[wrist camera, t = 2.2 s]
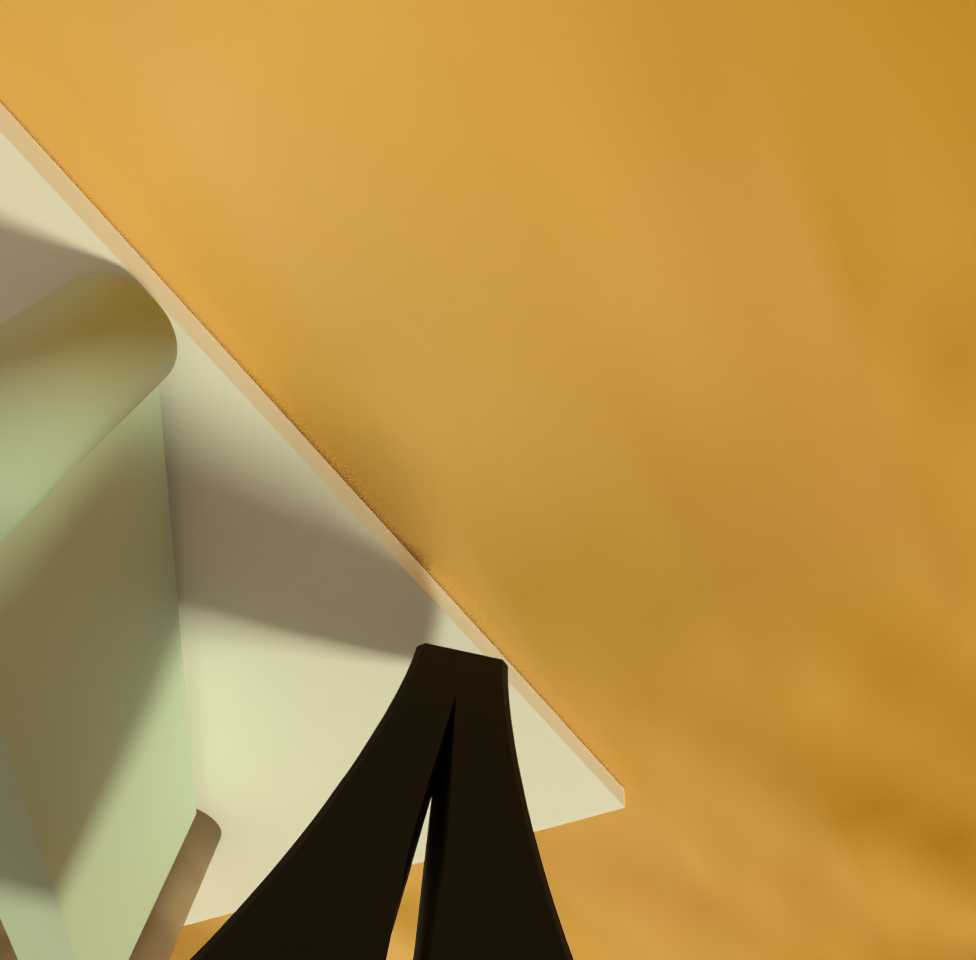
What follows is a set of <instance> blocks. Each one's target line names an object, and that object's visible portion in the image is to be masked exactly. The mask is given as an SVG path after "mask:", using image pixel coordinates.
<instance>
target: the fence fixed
mask: <svg viewBox="0 0 976 960" xmlns="http://www.w3.org/2000/svg"><path fill="white" fill-rule="evenodd" d="M221 834H222V833H221V829H220V827H219V825H218V824H217V823H216V821H215V820H214V819H213V818H211V817H210V816H209V815H207V814H206V813H204V812H202V811H200V810H198V809H196V816H195V818H194V820H193V822H192V824H191V826H190V828H189V831H188V833H187V835H186V837H185V839H184V841H183V844H182V846H181V848H180V850H179V852H178V854H177V856H176V859H175V861H174V863H173V865H172V867H171V869H170V872H169V874H168V876H167V878H166V880H165V882H164V884H163V887H162V889H161V891H160V893H159V895H158V897H157V900H156V902H155V904H154V906H153V908H152V910H151V912H150V915H149V917H148V919H147V921H146V923H145V925H144V928H143V930H142V932H141V934H140V936H139V938H138V940H137V943H136V945H135V947H134V949H133V951H132V953H131V956H130V958H129V960H169V959H170V956H171V954H172V952H173V949H174V947H175V944H176V942H177V940H178V937H179V935H180V933H181V930H182V928H183V926H184V923H185V921H186V919H187V916H188V914H189V911H190V909H191V907H192V904H193V902H194V900H195V897H196V895H197V893H198V890H199V888H200V885H201V883H202V881H203V878H204V876H205V874H206V871H207V869H208V867H209V864H210V862H211V860H212V857H213V855H214V852H215V850H216V848H217V845H218V843H219V841H220V838H221ZM0 960H18V958H17V956H16V954H15V952H14V949H13V947H12V945H11V942H10V940H9V938H8V935H7V933H6V931H5V928H4V926H3V924H2V921H1V919H0Z"/></svg>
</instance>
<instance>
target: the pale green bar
mask: <svg viewBox="0 0 976 960" xmlns="http://www.w3.org/2000/svg"><path fill="white" fill-rule="evenodd" d="M176 358H177V340H176V336H175V332H174V329H173V327H172V324H171V322H170V320H169V318H168V317H167V315H166V314H165V312H164V311H163V309H162V308H161V307H160V305H159V304H158V303H157V302H156V301H155V300H154V299H153V298H152V297H151V296H150V295H149V294H148V293H146V292H145V291H144V290H143V289H141V288H140V287H138V286H137V285H135V284H133V283H132V282H130V281H128V280H126V279H123V278H121V277H118V276H114V275H111V274H105V273H88V274H84V275H80V276H78V277H76V278H74V279H72V280H70V281H69V282H67V283H66V284H64V285H62V286H61V287H59V288H58V289H56V290H54V291H53V292H51V293H50V294H48V295H46V296H45V297H43V298H42V299H40V300H38V301H37V302H35V303H34V304H32V305H30V306H29V307H27V308H25V309H24V310H22V311H21V312H19V313H17V314H16V315H14V316H13V317H11V318H9V319H8V320H6V321H5V322H3V323H1V324H0V919H1V921H2V924H3V926H4V928H5V931H6V933H7V935H8V938H9V940H10V942H11V945H12V947H13V949H14V952H15V954H16V956H17V958H18V960H129V958H130V956H131V953H132V951H133V949H134V947H135V945H136V943H137V940H138V938H139V936H140V934H141V932H142V930H143V928H144V925H145V923H146V921H147V919H148V917H149V915H150V912H151V910H152V908H153V906H154V904H155V902H156V900H157V897H158V895H159V893H160V891H161V889H162V887H163V884H164V882H165V880H166V878H167V876H168V874H169V872H170V869H171V867H172V865H173V863H174V861H175V859H176V856H177V854H178V852H179V850H180V848H181V846H182V844H183V841H184V839H185V837H186V835H187V833H188V831H189V828H190V826H191V824H192V822H193V820H194V818H195V816H196V803H195V792H194V780H193V769H192V758H191V746H190V735H189V724H188V712H187V701H186V690H185V678H184V667H183V656H182V644H181V633H180V622H179V610H178V599H177V588H176V576H175V565H174V554H173V542H172V531H171V520H170V508H169V497H168V486H167V474H166V463H165V452H164V440H163V429H162V418H161V406H160V395H159V384H160V383H161V382H162V381H163V380H164V379H165V378H166V377H167V376H168V375H169V373H170V372H171V371H172V369H173V367H174V365H175V362H176Z"/></svg>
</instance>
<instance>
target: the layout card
mask: <svg viewBox="0 0 976 960" xmlns="http://www.w3.org/2000/svg"><path fill="white" fill-rule="evenodd" d="M88 273H105V274H111V275H114V276H118V277H121V278H123V279H126V280H128V281H130V282H132V283H133V284H135V285H137V286H138V287H140V288H141V289H143V290H144V291H145V292H146V293H148V294H149V295H150V296H151V297H152V298H153V299H154V300H155V301H156V302H157V303H158V304H159V305H160V307H161V308H162V309H163V311H164V312H165V314H166V315H167V317H168V318H169V320H170V322H171V324H172V327H173V329H174V332H175V336H176V340H177V358H176V362H175V365H174V367H173V369H172V371H171V372H170V373H169V375H168V376H167V377H166V378H165V379H164V380H163V381H162V382H161V383H160V384H159V395H160V406H161V418H162V429H163V440H164V452H165V463H166V474H167V486H168V497H169V508H170V520H171V531H172V542H173V554H174V565H175V576H176V588H177V599H178V610H179V622H180V633H181V644H182V656H183V667H184V678H185V690H186V701H187V712H188V724H189V735H190V746H191V758H192V769H193V780H194V792H195V803H196V809H198V810H200V811H202V812H204V813H206V814H207V815H209V816H210V817H211V818H213V819H214V820H215V821H216V823H217V824H218V825H219V827H220V829H221V833H222V834H221V838H220V841H219V843H218V845H217V848H216V850H215V852H214V855H213V857H212V860H211V862H210V864H209V867H208V869H207V871H206V874H205V876H204V878H203V881H202V883H201V885H200V888H199V890H198V893H197V895H196V897H195V900H194V902H193V904H192V907H191V909H190V911H189V914H188V916H187V919H186V921H185V923H184V926H185V925H189V924H193V923H196V922H200V921H204V920H207V919H211V918H215V917H219V916H222V915H226V914H230V913H234V912H236V910H237V909H238V908H239V907H240V906H241V905H242V904H243V903H244V901H245V900H246V899H247V898H248V897H249V896H250V895H251V893H252V892H253V891H254V890H255V889H256V888H257V887H258V886H259V884H260V883H261V882H262V881H263V880H264V879H265V878H266V877H267V875H268V874H269V873H270V872H271V871H272V869H273V868H274V867H275V866H276V865H277V863H278V862H279V861H280V860H281V859H282V857H283V856H284V855H285V854H286V853H287V851H288V850H289V849H290V848H291V847H292V845H293V844H294V843H295V842H296V840H297V839H298V838H299V837H300V835H301V834H302V833H303V832H304V830H305V829H306V828H307V826H308V825H309V824H310V822H311V821H312V820H313V819H314V817H315V816H316V815H317V813H318V812H319V811H320V809H321V808H322V807H323V805H324V804H325V802H326V801H327V800H328V798H329V797H330V796H331V794H332V793H333V791H334V790H335V789H336V787H337V786H338V784H339V783H340V782H341V780H342V779H343V777H344V776H345V775H346V773H347V772H348V770H349V769H350V768H351V766H352V765H353V763H354V762H355V760H356V759H357V757H358V756H359V754H360V753H361V751H362V749H363V748H364V746H365V745H366V743H367V742H368V740H369V738H370V737H371V735H372V734H373V732H374V730H375V729H376V727H377V726H378V724H379V722H380V721H381V719H382V718H383V716H384V714H385V712H386V711H387V709H388V707H389V705H390V704H391V702H392V700H393V698H394V696H395V695H396V693H397V691H398V689H399V687H400V685H401V683H402V681H403V679H404V677H405V675H406V673H407V670H408V668H409V666H410V664H411V661H412V659H413V656H414V653H415V650H416V647H417V646H419V645H421V644H424V643H428V644H433V645H437V646H442V647H447V648H451V649H456V650H461V651H465V652H470V653H475V654H479V655H484V656H489V657H493V658H498V659H503V660H504V662H505V663H506V664H507V665H508V688H509V702H510V712H511V720H512V727H513V734H514V741H515V747H516V753H517V759H518V764H519V769H520V774H521V779H522V783H523V788H524V793H525V798H526V803H527V807H528V811H529V815H530V819H531V824H532V828H533V832H536V831H540V830H543V829H547V828H551V827H555V826H558V825H562V824H566V823H569V822H573V821H577V820H581V819H584V818H588V817H592V816H596V815H599V814H603V813H607V812H611V811H614V810H618V809H622V808H625V789H624V788H623V787H622V786H621V785H620V784H619V783H618V782H617V781H616V780H615V778H614V777H613V776H612V775H611V774H610V773H609V772H608V771H607V770H606V768H605V767H604V766H603V765H602V764H601V763H600V762H599V761H598V760H597V759H596V757H595V756H594V755H593V754H592V753H591V752H590V751H589V750H588V749H587V748H586V746H585V745H584V744H583V743H582V742H581V741H580V740H579V739H578V738H577V737H576V735H575V734H574V733H573V732H572V731H571V730H570V729H569V728H568V727H567V726H566V724H565V723H564V722H563V721H562V720H561V719H560V718H559V717H558V716H557V715H556V713H555V712H554V711H553V710H552V709H551V708H550V707H549V706H548V705H547V704H546V702H545V701H544V700H543V699H542V698H541V697H540V696H539V695H538V694H537V693H536V691H535V690H534V689H533V688H532V687H531V686H530V685H529V684H528V683H527V681H526V680H525V679H524V678H523V677H522V676H521V675H520V674H519V673H518V672H517V670H516V669H515V668H514V667H513V666H512V665H511V664H510V663H509V662H508V661H507V659H506V658H505V657H504V656H503V655H502V654H501V653H500V652H499V651H498V650H497V648H496V647H495V646H494V645H493V644H492V643H491V642H490V641H489V640H488V639H487V637H486V636H485V635H484V634H483V633H482V632H481V631H480V630H479V629H478V628H477V626H476V625H475V624H474V623H473V622H472V621H471V620H470V619H469V618H468V617H467V615H466V614H465V613H464V612H463V611H462V610H461V609H460V608H459V607H458V606H457V604H456V603H455V602H454V601H453V600H452V599H451V598H450V597H449V596H448V594H447V593H446V592H445V591H444V590H443V589H442V588H441V587H440V586H439V585H438V583H437V582H436V581H435V580H434V579H433V578H432V577H431V576H430V575H429V574H428V572H427V571H426V570H425V569H424V568H423V567H422V566H421V565H420V564H419V563H418V561H417V560H416V559H415V558H414V557H413V556H412V555H411V554H410V553H409V552H408V550H407V549H406V548H405V547H404V546H403V545H402V544H401V543H400V542H399V541H398V539H397V538H396V537H395V536H394V535H393V534H392V533H391V532H390V531H389V530H388V528H387V527H386V526H385V525H384V524H383V523H382V522H381V521H380V520H379V519H378V517H377V516H376V515H375V514H374V513H373V512H372V511H371V510H370V509H369V507H368V506H367V505H366V504H365V503H364V502H363V501H362V500H361V499H360V498H359V496H358V495H357V494H356V493H355V492H354V491H353V490H352V489H351V488H350V487H349V485H348V484H347V483H346V482H345V481H344V480H343V479H342V478H341V477H340V476H339V474H338V473H337V472H336V471H335V470H334V469H333V468H332V467H331V466H330V465H329V463H328V462H327V461H326V460H325V459H324V458H323V457H322V456H321V455H320V454H319V452H318V451H317V450H316V449H315V448H314V447H313V446H312V445H311V444H310V443H309V441H308V440H307V439H306V438H305V437H304V436H303V435H302V434H301V433H300V432H299V430H298V429H297V428H296V427H295V426H294V425H293V424H292V423H291V422H290V420H289V419H288V418H287V417H286V416H285V415H284V414H283V413H282V412H281V411H280V409H279V408H278V407H277V406H276V405H275V404H274V403H273V402H272V401H271V400H270V398H269V397H268V396H267V395H266V394H265V393H264V392H263V391H262V390H261V389H260V387H259V386H258V385H257V384H256V383H255V382H254V381H253V380H252V379H251V378H250V376H249V375H248V374H247V373H246V372H245V371H244V370H243V369H242V368H241V367H240V365H239V364H238V363H237V362H236V361H235V360H234V359H233V358H232V357H231V356H230V354H229V353H228V352H227V351H226V350H225V349H224V348H223V347H222V346H221V345H220V343H219V342H218V341H217V340H216V339H215V338H214V337H213V336H212V335H211V333H210V332H209V331H208V330H207V329H206V328H205V327H204V326H203V325H202V324H201V322H200V321H199V320H198V319H197V318H196V317H195V316H194V315H193V314H192V313H191V311H190V310H189V309H188V308H187V307H186V306H185V305H184V304H183V303H182V302H181V300H180V299H179V298H178V297H177V296H176V295H175V294H174V293H173V292H172V291H171V289H170V288H169V287H168V286H167V285H166V284H165V283H164V282H163V281H162V280H161V278H160V277H159V276H158V275H157V274H156V273H155V272H154V271H153V270H152V269H151V267H150V266H149V265H148V264H147V263H146V262H145V261H144V260H143V259H142V258H141V256H140V255H139V254H138V253H137V252H136V251H135V250H134V249H133V248H132V246H131V245H130V244H129V243H128V242H127V241H126V240H125V239H124V238H123V237H122V235H121V234H120V233H119V232H118V231H117V230H116V229H115V228H114V227H113V226H112V224H111V223H110V222H109V221H108V220H107V219H106V218H105V217H104V216H103V215H102V213H101V212H100V211H99V210H98V209H97V208H96V207H95V206H94V205H93V204H92V202H91V201H90V200H89V199H88V198H87V197H86V196H85V195H84V194H83V193H82V191H81V190H80V189H79V188H78V187H77V186H76V185H75V184H74V183H73V182H72V180H71V179H70V178H69V177H68V176H67V175H66V174H65V173H64V172H63V171H62V169H61V168H60V167H59V166H58V165H57V164H56V163H55V162H54V161H53V159H52V158H51V157H50V156H49V155H48V154H47V153H46V152H45V151H44V150H43V148H42V147H41V146H40V145H39V144H38V143H37V142H36V141H35V140H34V139H33V137H32V136H31V135H30V134H29V133H28V132H27V131H26V130H25V129H24V128H23V126H22V125H21V124H20V123H19V122H18V121H17V120H16V119H15V118H14V117H13V115H12V114H11V113H10V112H9V111H8V110H7V109H6V108H5V107H4V106H3V104H2V103H1V102H0V324H1V323H3V322H5V321H6V320H8V319H9V318H11V317H13V316H14V315H16V314H17V313H19V312H21V311H22V310H24V309H25V308H27V307H29V306H30V305H32V304H34V303H35V302H37V301H38V300H40V299H42V298H43V297H45V296H46V295H48V294H50V293H51V292H53V291H54V290H56V289H58V288H59V287H61V286H62V285H64V284H66V283H67V282H69V281H70V280H72V279H74V278H76V277H78V276H80V275H84V274H88ZM430 806H431V800H430V804H429V807H428V810H427V814H426V817H425V821H424V824H423V827H422V831H421V834H420V838H419V841H418V845H417V848H416V851H415V855H414V858H413V862H412V865H413V864H416V863H420V862H424V860H425V851H426V842H427V833H428V824H429V815H430Z"/></svg>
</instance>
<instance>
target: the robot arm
mask: <svg viewBox="0 0 976 960" xmlns="http://www.w3.org/2000/svg"><path fill="white" fill-rule="evenodd" d="M430 800H431V806H430V815H429V824H428V833H427V842H426V851H425V860H424V869H423V878H422V887H421V896H420V905H419V915H418V924H417V933H416V942H415V950H414V957H413V960H573V957H572V955H571V952H570V949H569V946H568V943H567V941H566V938H565V935H564V932H563V929H562V926H561V923H560V920H559V917H558V914H557V911H556V908H555V905H554V902H553V899H552V895H551V892H550V889H549V886H548V882H547V879H546V875H545V872H544V869H543V865H542V861H541V858H540V854H539V850H538V847H537V843H536V839H535V835H534V832H533V828H532V824H531V819H530V815H529V811H528V807H527V803H526V798H525V793H524V788H523V783H522V779H521V774H520V769H519V764H518V759H517V753H516V747H515V741H514V734H513V727H512V720H511V712H510V702H509V688H508V665H507V664H506V663H505V662H504V660H503V659H498V658H493V657H489V656H484V655H479V654H475V653H470V652H465V651H461V650H456V649H451V648H447V647H442V646H437V645H433V644H428V643H424V644H421V645H419V646H417V647H416V650H415V653H414V656H413V659H412V661H411V664H410V666H409V668H408V670H407V673H406V675H405V677H404V679H403V681H402V683H401V685H400V687H399V689H398V691H397V693H396V695H395V696H394V698H393V700H392V702H391V704H390V705H389V707H388V709H387V711H386V712H385V714H384V716H383V718H382V719H381V721H380V722H379V724H378V726H377V727H376V729H375V730H374V732H373V734H372V735H371V737H370V738H369V740H368V742H367V743H366V745H365V746H364V748H363V749H362V751H361V753H360V754H359V756H358V757H357V759H356V760H355V762H354V763H353V765H352V766H351V768H350V769H349V770H348V772H347V773H346V775H345V776H344V777H343V779H342V780H341V782H340V783H339V784H338V786H337V787H336V789H335V790H334V791H333V793H332V794H331V796H330V797H329V798H328V800H327V801H326V802H325V804H324V805H323V807H322V808H321V809H320V811H319V812H318V813H317V815H316V816H315V817H314V819H313V820H312V821H311V822H310V824H309V825H308V826H307V828H306V829H305V830H304V832H303V833H302V834H301V835H300V837H299V838H298V839H297V840H296V842H295V843H294V844H293V845H292V847H291V848H290V849H289V850H288V851H287V853H286V854H285V855H284V856H283V857H282V859H281V860H280V861H279V862H278V863H277V865H276V866H275V867H274V868H273V869H272V871H271V872H270V873H269V874H268V875H267V877H266V878H265V879H264V880H263V881H262V882H261V883H260V884H259V886H258V887H257V888H256V889H255V890H254V891H253V892H252V893H251V895H250V896H249V897H248V898H247V899H246V900H245V901H244V903H243V904H242V905H241V906H240V907H239V908H238V909H237V910H236V912H235V913H234V914H233V915H232V916H231V917H230V918H229V919H228V920H227V921H226V923H225V924H224V925H223V926H222V927H221V928H220V929H219V930H218V931H217V932H216V933H215V934H214V935H213V937H212V938H211V939H210V940H209V941H208V942H207V943H206V944H205V945H204V946H203V947H202V948H201V949H200V950H199V951H198V952H197V953H196V954H195V955H194V956H193V957H192V958H191V959H190V960H386V957H387V952H388V947H389V942H390V937H391V933H392V930H393V927H394V923H395V920H396V916H397V913H398V909H399V906H400V903H401V899H402V896H403V892H404V889H405V886H406V882H407V879H408V875H409V872H410V869H411V865H412V862H413V858H414V855H415V851H416V848H417V845H418V841H419V838H420V834H421V831H422V827H423V824H424V821H425V817H426V814H427V810H428V807H429V804H430Z"/></svg>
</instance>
